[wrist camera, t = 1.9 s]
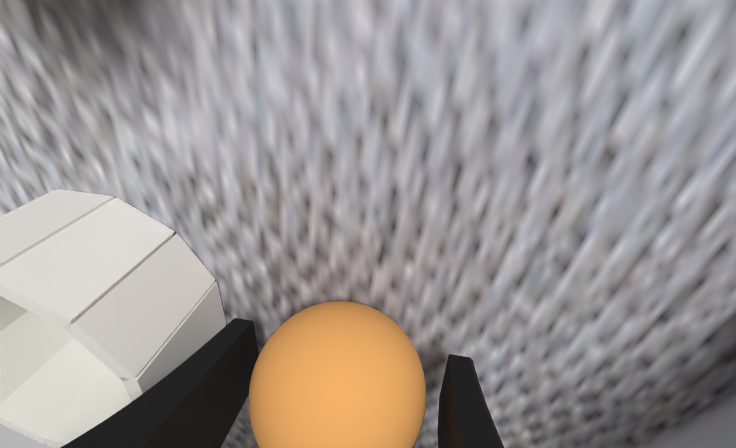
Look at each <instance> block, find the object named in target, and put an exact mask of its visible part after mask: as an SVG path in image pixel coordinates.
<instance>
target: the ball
mask: <svg viewBox="0 0 736 448" xmlns="http://www.w3.org/2000/svg"><path fill="white" fill-rule="evenodd" d="M248 403H249V416H250V422H251V427H252V430H253V433H254V436H255V439H256V442H257V444H258V446H259V448H412V447H413V446H414V444H415V442H416V439H417V437H418V435H419V432H420V429H421V426H422V422H423V419H424V414H425V406H426V384H425V377H424V371H423V368H422V365H421V362H420V359H419V356H418V354H417V352H416V350H415V348H414V346H413V344H412V342H411V340H410V339H409V338H408V336H407V335H406V334H405V332H404V331H403V330H402V329H401V328H400V327H399V326H398V325H397V324H396V323H395V322H394V321H393V320H392V319H390V318H389V317H388V316H386V315H385V314H383V313H382V312H380V311H378V310H376V309H374V308H372V307H369V306H367V305H364V304H360V303H355V302H349V301H332V302H325V303H320V304H317V305H314V306H311V307H308V308H306V309H304V310H302V311H300V312H298V313H297V314H295V315H293V316H292V317H290V318H289V319H288V320H286V321H285V322H284V323H283V324H282V325H281V326H279V328H278V329H277V330H276V331H275V332H274V333H273V334H272V335H271V337H270V338H269V339H268V341H267V342H266V344H265V346H264V347H263V349H262V350H261V352H260V354H259V356H258V359H257V361H256V363H255V366H254V369H253V373H252V376H251V380H250V388H249V397H248Z"/></svg>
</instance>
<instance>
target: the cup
mask: <svg viewBox="0 0 736 448" xmlns="http://www.w3.org/2000/svg"><path fill="white" fill-rule="evenodd" d="M174 232H175V231H173V230H172V229H170V228H168V227H167V226H165V225H163V224H161V223H160V222H158V221H156V220H155V219H153V218H151V217H149V216H148V215H146V214H144V213H143V212H141V211H139V210H137V209H136V208H134V207H132V206H131V205H129V204H127V203H126V202H124V201H122V200H120V199H119V198H117V197H116V198H114V196H107V195H100V194H92V193H84V192H76V191H68V190H61V189H57V190H54V191H52V192H50V193H48V194H45V195H43V196H41V197H39V198H37V199H35V200H33V201H31V202H29V203H27V204H25V205H23V206H21V207H19V208H17V209H15V210H13V211H11V212H9V213H7V214H5V215H2V216H0V424H2V425H4V426H6V427H8V428H10V429H12V430H15V431H17V432H19V433H21V434H23V435H25V436H27V437H29V438H32V439H34V440H36V441H38V442H40V443H42V444H44V445H46V444H47V445H48V446H50V447H55V448H61V447H62V446H64V445H66V444H67V443H69V442H71V441H72V440H74V439H75V438H77V437H79V436H80V435H82V434H84V433H85V432H87V431H88V430H90V429H92V428H93V427H95V426H96V425H98V424H100V423H101V422H103V421H104V420H106V419H107V418H109V417H110V416H112V415H113V414H115V413H116V412H118V411H119V410H121V409H122V408H124V407H125V406H126V405H128V404H129V403H131V402H132V401H133V400H135V399H136V398H138V397H139V396H140V395H142V394H143V393H144V392H146V391H147V390H148V389H150V388H151V387H152V386H154V385H155V384H156V383H158V382H159V381H160V380H161V379H163V378H164V377H165V376H167V375H168V374H169V373H171V372H172V371H173V370H174V369H176V368H177V367H178V366H179V365H180V364H182V363H183V362H184V361H185V360H186V359H188V358H189V357H190V356H191V355H192V354H194V353H195V352H196V351H197V350H198V349H200V348H201V347H202V346H203V345H204V344H205V343H207V342H208V341H209V340H210V339H211V338H212V337H214V336H215V335H216V334H217V333H218V332H219V331H220V330H222V329H223V328H224V327H225V326H226V319H225V315H224V310H223V306H222V302H221V297H220V293H219V288H218V284H217V282H214V281H215V280H216V279H215V278H214V277H213V276H212V274H211V273H210V272H209V271H208V270H207V268H206V267H205V266H204V265H203V264H202V262H201V261H200V260H199V259H198V258H197V256H196V255H195V254H194V253H193V252H192V250H191V249H190V248H189V247H188V246H187V244H186V243H185V242H184V241H183V240H182V238H181V237H180V236H179V235H178V234H175V235H174Z"/></svg>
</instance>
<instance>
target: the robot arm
mask: <svg viewBox="0 0 736 448" xmlns="http://www.w3.org/2000/svg"><path fill="white" fill-rule="evenodd" d="M258 356H259V352H258V347H257V341H256V335H255V329H254V324H253V321H250V320H244V319H238V318H235V319H233V320H232V321H231V322H230V323H229V324H227V325H226V326H225V327H224V328H223V329H222V330H220V331H219V332H218V333H217V334H216V335H215V336H214V337H212V338H211V339H210V340H209V341H208V342H207V343H205V344H204V345H203V346H202V347H201V348H200V349H198V350H197V351H196V352H195V353H194V354H192V355H191V356H190V357H189V358H188V359H186V360H185V361H184V362H183V363H182V364H180V365H179V366H178V367H177V368H176V369H174V370H173V371H172V372H171V373H169V374H168V375H167V376H165V377H164V378H163V379H161V380H160V381H159V382H158V383H156V384H155V385H154V386H152V387H151V388H150V389H148V390H147V391H146V392H144V393H143V394H142V395H140V396H139V397H138V398H136V399H135V400H133V401H132V402H131V403H129V404H128V405H126V406H125V407H124V408H122V409H121V410H119V411H118V412H116V413H115V414H113V415H112V416H110V417H109V418H107V419H106V420H104V421H103V422H101V423H100V424H98V425H96V426H95V427H93V428H92V429H90V430H88V431H87V432H85V433H84V434H82V435H80V436H79V437H77V438H75V439H74V440H72V441H71V442H69V443H67V444H66V445H64V446H62V447H61V448H220V447H221V446H222V444H223V442H224V440H225V438H226V436H227V434H228V432H229V430H230V429H231V427H232V425H233V423H234V421H235V419H236V417H237V415H238V413H239V412H240V410H241V408H242V406H243V404H244V402H245V400H246V398H247V396H248V394H249V388H250V380H251V376H252V373H253V369H254V366H255V363H256V361H257V359H258ZM438 448H504V446H503V444H502V442H501V439H500V437H499V435H498V432H497V430H496V427H495V425H494V422H493V420H492V417H491V415H490V412H489V410H488V407H487V404H486V402H485V399H484V396H483V393H482V390H481V387H480V384H479V381H478V378H477V374H476V371H475V367H474V363H473V360H472V359H471V358H469V357H463V356H457V355H451V354H449V356H448V361H447V365H446V370H445V374H444V379H443V383H442V388H441V392H440V398H439V416H438Z"/></svg>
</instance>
